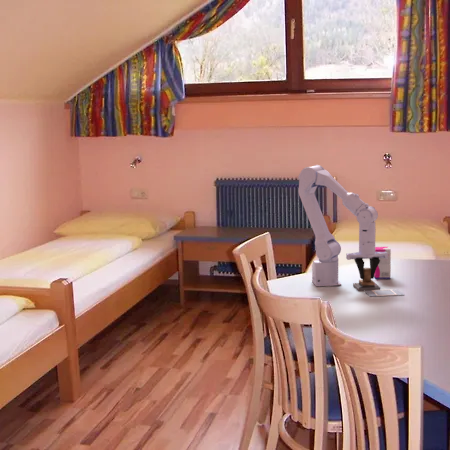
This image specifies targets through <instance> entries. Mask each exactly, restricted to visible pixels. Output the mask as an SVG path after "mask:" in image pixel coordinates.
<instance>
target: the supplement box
mask: <svg viewBox="0 0 450 450" xmlns="http://www.w3.org/2000/svg"><path fill="white" fill-rule="evenodd" d="M375 252H387V253H388V258H379V259H380V263H379V264H378V266H377V268H376V271H375V274H374V279H375V280H390V279H391V273H392V272H391V270H392V269H391V265H392V264H391V261H392V260H391V258H392V257H391V254H392V251H391V248H390V247H389V246H375Z"/></svg>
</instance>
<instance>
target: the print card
mask: <svg viewBox="0 0 450 450" xmlns="http://www.w3.org/2000/svg"><path fill="white" fill-rule="evenodd" d="M364 292H365V294H366V295H367V296H369V297H370V298H376V297H375V296H380V297H397V296H399V297H400V295H403V296H405V293H403V292H402V291H400V290H399V289H395V288H394V289H391V288H390V289H380V290H371V291H364Z"/></svg>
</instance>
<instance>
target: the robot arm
mask: <svg viewBox="0 0 450 450" xmlns="http://www.w3.org/2000/svg"><path fill="white" fill-rule="evenodd" d="M297 178H298V195H299V197H300V201H301V203H302V206H303V208H304V211H305V214H306V216H307V219H308V221H309V223H310V226H311V228H312V231H313V233H314V236H315V241H314V245H315V255H316V257H317V259H316V260H313V261H312V265H311V266H312V269H311V275H312V277H311V278H312V279H311V281H312V283H313V284H314V286H315V287H332V286H342V283H341V282H340V281H339V255H340V253H341V252H342V246H341V244H340V243H339V242H338V240H336V238H335V236H334V234H332V233H331V232H330V230H329V227H328V224H327V223H326V220H325V218H324V214H323V213H322V210H321V206H320V205H319V202H318V199H317V197H316V194H315V192H316V190H317V187H318V186H324V187H326V188H327V189H328V190H330V191H331V192H332V193H334V195H336V196H337V197H338V198H340V199H341V202H342V205H343V206H344V207H345V208H346V209H347V210H348V211H349V212H350V213H351V214H352V215H354V216H355V217H356V221H357V223H358V224H359V225H358V252H349V253H346V257H345V258H346V260H347V261H350V260H353V261H354V262H355V264H356V266H357V269H358V273H359V278H360V280H363V279H364V268H365V261H364V259H366V260H369V266H370V267H369V268H371V280H373V279H375V277H374V274H375V271H376V268H377V266H378V264H379V263H380V259H379V258H388V253H387V252H375V247H376V221H377V219H378V217H379V215H378V211H377V209H376V208H375V207H374V206H371V205H370V204H369V203H368V202H367V203H366V202H365V201H363V199H361V198H360V195H359V194H358V193H354V192H349V191H348V190H347V189H345V187H343V185H342V184H341V183H339V181H338V180H336V179H335V178H334V176H332V174H331V173H330V172H329V171H328V170H327V169H325V168H324V167H323V166H322V165H319V164H315V165H313V166H306V167H304V168H302V170H301V171H300V172H299V175H298V176H297Z"/></svg>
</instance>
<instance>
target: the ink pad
mask: <svg viewBox="0 0 450 450" xmlns="http://www.w3.org/2000/svg"><path fill="white" fill-rule="evenodd" d="M352 285H353V287H354V289H356V291H358V292H365V291H371V290H381V286H379V285H378V284H377V283H376V282H375V286H368V287H362V286H361V285H360V284H359V282H354V283H352Z"/></svg>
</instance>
